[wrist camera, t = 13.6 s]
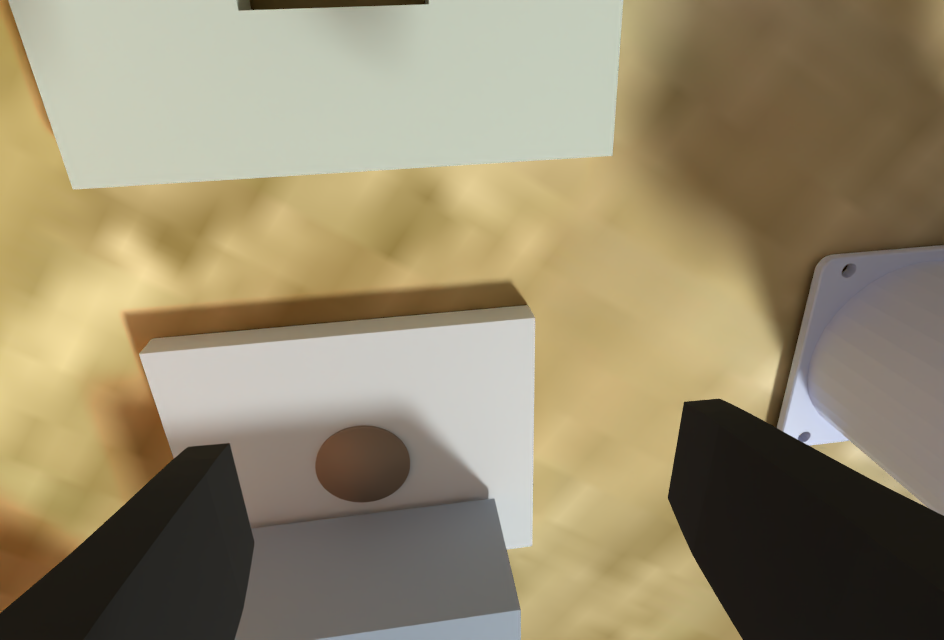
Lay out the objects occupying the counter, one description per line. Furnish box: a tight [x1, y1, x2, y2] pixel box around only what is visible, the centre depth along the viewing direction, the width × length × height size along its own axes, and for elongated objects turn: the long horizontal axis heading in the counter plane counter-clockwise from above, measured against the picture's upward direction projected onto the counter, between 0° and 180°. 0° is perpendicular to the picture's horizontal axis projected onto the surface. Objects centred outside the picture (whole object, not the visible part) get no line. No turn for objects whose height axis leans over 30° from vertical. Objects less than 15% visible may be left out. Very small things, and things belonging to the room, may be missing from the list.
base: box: [139, 305, 535, 549], centre depth 20 cm, size 12×10×1 cm
